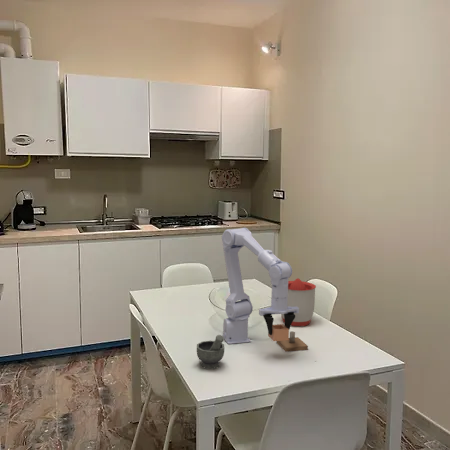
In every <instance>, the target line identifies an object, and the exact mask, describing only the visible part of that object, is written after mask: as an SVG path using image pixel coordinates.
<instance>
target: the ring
mask: <svg viewBox="0 0 450 450" xmlns="http://www.w3.org/2000/svg"><path fill="white" fill-rule="evenodd" d="M284 324H285V323H281V324H280V323H279V324H278V323H277V324H273V326H272V335H270V334H269V333H268V332H267V333H268V334H267V335H268V337H269V339H271V340H272V342H277V341H285V340H289V338H290V329H288V328H287V327H286V326H285V325H284Z"/></svg>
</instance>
